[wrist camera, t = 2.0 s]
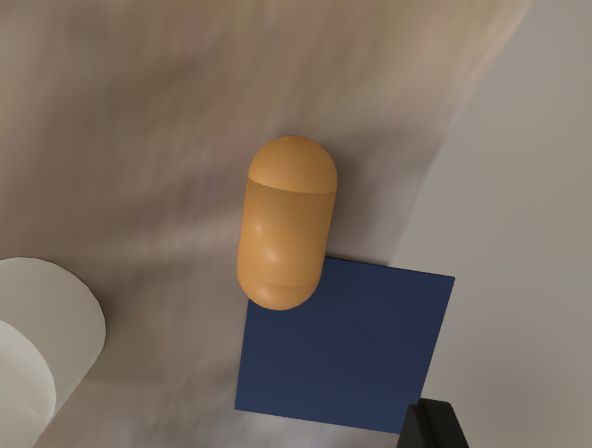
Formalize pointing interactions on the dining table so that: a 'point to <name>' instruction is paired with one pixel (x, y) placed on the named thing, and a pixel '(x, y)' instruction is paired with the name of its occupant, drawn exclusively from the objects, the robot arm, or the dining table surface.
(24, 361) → the base with upright slab
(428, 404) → the robot arm
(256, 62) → the dining table surface
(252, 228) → the bread roll
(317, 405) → the napkin
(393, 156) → the dining table surface
